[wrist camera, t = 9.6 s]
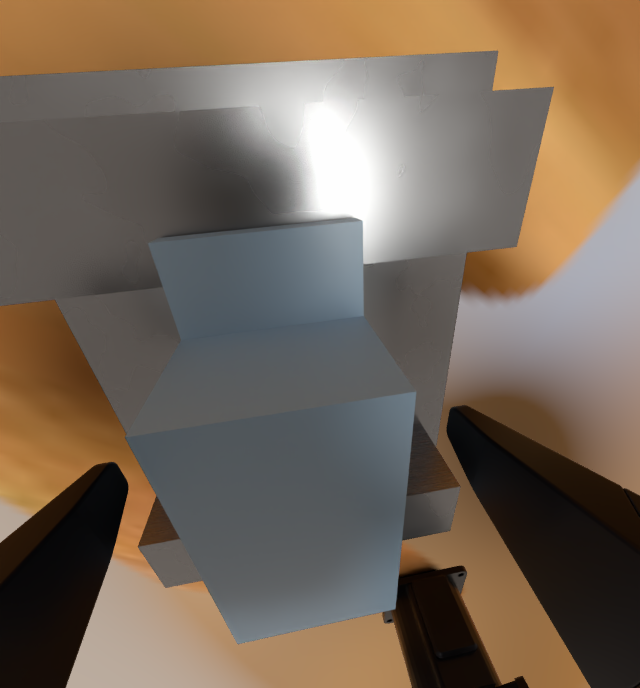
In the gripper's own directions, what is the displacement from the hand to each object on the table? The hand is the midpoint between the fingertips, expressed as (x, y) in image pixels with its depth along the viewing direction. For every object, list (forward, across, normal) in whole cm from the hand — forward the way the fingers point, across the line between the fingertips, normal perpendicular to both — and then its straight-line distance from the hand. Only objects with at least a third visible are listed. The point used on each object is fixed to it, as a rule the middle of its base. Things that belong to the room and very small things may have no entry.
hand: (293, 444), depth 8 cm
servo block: (+4, 0, 0) cm, 4 cm away
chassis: (+5, 0, 0) cm, 5 cm away
